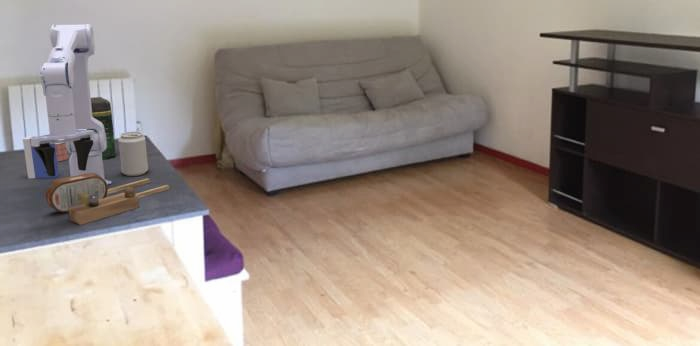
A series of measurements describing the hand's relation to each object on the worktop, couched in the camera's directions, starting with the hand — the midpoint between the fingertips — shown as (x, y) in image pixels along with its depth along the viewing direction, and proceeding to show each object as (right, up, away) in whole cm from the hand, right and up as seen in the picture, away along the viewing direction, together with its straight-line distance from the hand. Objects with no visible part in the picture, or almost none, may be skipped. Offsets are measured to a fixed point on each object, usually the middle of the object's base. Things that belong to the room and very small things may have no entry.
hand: (67, 172), depth 163 cm
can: (+3, 0, +41) cm, 41 cm away
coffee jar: (-13, +5, +59) cm, 60 cm away
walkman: (-22, -1, +38) cm, 44 cm away
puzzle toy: (-26, +4, +54) cm, 60 cm away
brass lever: (+2, -7, +7) cm, 10 cm away
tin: (-2, -9, +13) cm, 16 cm away
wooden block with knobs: (+6, -10, +9) cm, 15 cm away
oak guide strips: (+8, -5, +24) cm, 26 cm away
